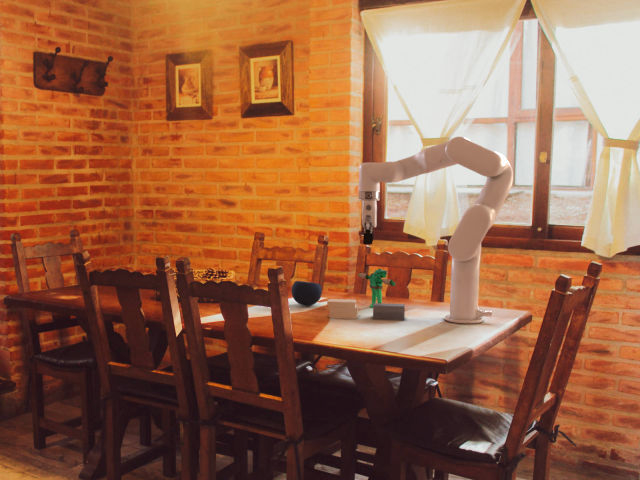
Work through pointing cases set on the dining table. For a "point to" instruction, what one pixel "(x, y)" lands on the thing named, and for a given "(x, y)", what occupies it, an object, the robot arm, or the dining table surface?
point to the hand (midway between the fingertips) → (368, 242)
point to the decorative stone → (306, 292)
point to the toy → (377, 284)
